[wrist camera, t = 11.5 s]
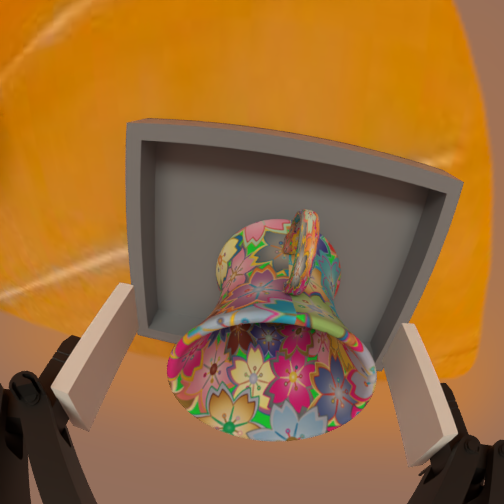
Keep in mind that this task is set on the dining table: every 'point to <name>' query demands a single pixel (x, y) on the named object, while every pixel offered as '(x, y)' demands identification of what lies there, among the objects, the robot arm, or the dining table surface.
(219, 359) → the mug
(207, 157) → the tray
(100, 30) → the dining table surface
